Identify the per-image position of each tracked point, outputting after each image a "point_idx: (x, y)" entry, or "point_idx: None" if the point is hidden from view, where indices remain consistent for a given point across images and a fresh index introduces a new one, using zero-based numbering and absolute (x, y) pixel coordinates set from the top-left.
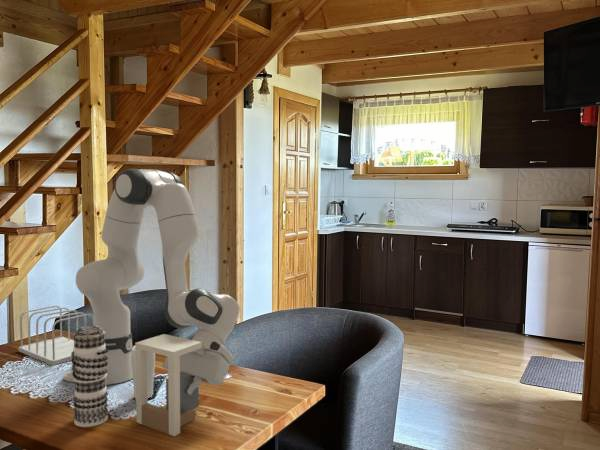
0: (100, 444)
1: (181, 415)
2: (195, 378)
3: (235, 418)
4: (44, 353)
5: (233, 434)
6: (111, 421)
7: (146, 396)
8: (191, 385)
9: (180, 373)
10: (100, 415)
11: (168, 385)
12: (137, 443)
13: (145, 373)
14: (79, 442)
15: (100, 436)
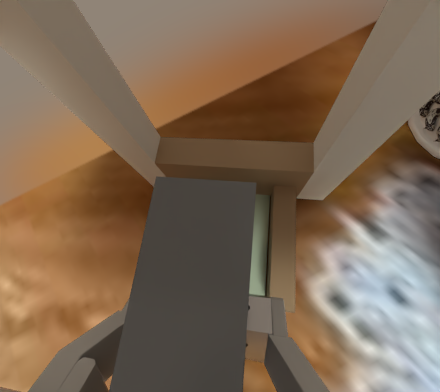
0: (296, 60)
1: None
2: (67, 381)
3: (34, 367)
4: None
5: (11, 253)
6: (398, 146)
7: (324, 150)
8: (114, 316)
9: (233, 384)
10: (434, 107)
11: (82, 17)
12: (221, 101)
13: (408, 16)
14: (348, 43)
15: (333, 80)
